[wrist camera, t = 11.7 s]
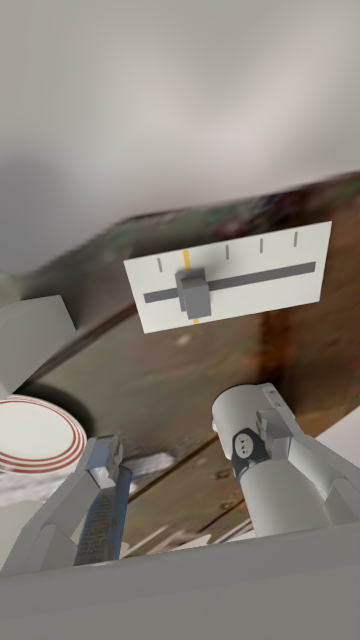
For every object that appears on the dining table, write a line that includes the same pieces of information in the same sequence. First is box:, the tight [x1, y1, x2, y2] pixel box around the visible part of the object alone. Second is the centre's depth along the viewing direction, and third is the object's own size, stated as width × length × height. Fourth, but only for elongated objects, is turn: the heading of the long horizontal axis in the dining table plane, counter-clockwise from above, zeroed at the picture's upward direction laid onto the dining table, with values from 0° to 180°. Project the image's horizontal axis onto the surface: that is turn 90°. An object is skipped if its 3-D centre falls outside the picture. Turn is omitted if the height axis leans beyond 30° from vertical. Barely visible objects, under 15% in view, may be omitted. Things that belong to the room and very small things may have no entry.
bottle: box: [73, 466, 131, 567], centre depth 38 cm, size 10×10×30 cm
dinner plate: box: [0, 394, 87, 475], centre depth 41 cm, size 28×27×3 cm
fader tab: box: [175, 268, 212, 320], centre depth 24 cm, size 4×6×6 cm
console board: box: [124, 221, 332, 333], centre depth 29 cm, size 30×12×3 cm, turn 100°
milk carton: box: [0, 295, 76, 401], centre depth 22 cm, size 7×7×19 cm
